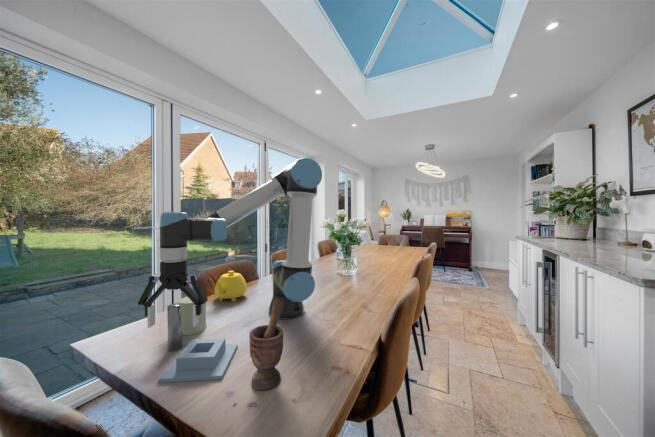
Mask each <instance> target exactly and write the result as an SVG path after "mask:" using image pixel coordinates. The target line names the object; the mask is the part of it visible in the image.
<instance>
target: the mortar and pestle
mask: <svg viewBox="0 0 655 437" xmlns="http://www.w3.org/2000/svg"><path fill="white" fill-rule="evenodd" d="M283 304H284V300H283V299H280V298H276V299H275V300H274V302H273V306H272V312H271V316H270V318H269V323H268V324H263V325H260V326H257V327H254V328H253V329H252V330H251V331H249V356H250V358H251V359H250V360H251V363H252V365H253V367H255V368H256V369H257V370H256V371H255V372H254V373H253V375H252V377H251V386H252V387H253V389H254V390H255V391H256V390H257V391H258V390H259V391H262V390H263V391H264V390H267V391H268V390H270V389H274V388H275V387H277V386H278V385H279V383H280V381H281V379H282V376H281V373H280V371H279V370H278V368H276V366H278V365H279V363H280V360H281V358H282V354H283V351H284V350H283V349H284V329H283V328H281V327H280V326H278V325H277V324H278V321H279V320H280V319H279V316H280V313H281V311H282V308H283Z"/></svg>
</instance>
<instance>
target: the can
mask: <svg viewBox="0 0 655 437" xmlns="http://www.w3.org/2000/svg"><path fill="white" fill-rule="evenodd" d="M178 303H181V304H182V336H191V335H196V334H199V333H201V332H203V331H205V330H206V329H207V315H206V314H207V311H206V310H207V306H206V304H207V302H206V303H204V304H202V312H201V314H200V315H199V323H198V324H197V325H196V326H195V327H193V306H194V305H195V304H194V303H193V302H192V301H191V300H190V299H189V297H188V296H187V295H186V296H184V297H182V298H179V300H178Z"/></svg>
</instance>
